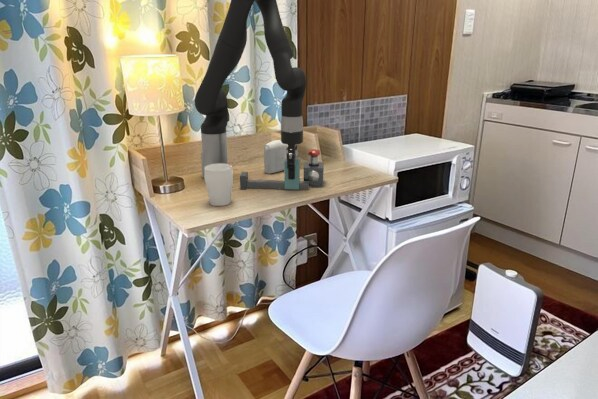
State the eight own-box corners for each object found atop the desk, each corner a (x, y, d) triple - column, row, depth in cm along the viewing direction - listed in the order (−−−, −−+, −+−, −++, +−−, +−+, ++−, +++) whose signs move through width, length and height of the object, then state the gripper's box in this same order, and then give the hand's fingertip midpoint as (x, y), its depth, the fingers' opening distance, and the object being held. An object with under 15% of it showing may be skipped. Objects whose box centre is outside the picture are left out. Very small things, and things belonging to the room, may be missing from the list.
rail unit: (240, 189, 162) (239, 170, 160) (246, 178, 175) (246, 160, 172) (322, 191, 161) (323, 172, 158) (323, 180, 173) (323, 162, 170)
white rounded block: (282, 167, 189) (281, 137, 184) (289, 169, 186) (289, 139, 181) (262, 172, 182) (261, 141, 178) (269, 174, 179) (269, 143, 175)
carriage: (284, 189, 162) (284, 161, 158) (285, 185, 166) (285, 158, 162) (298, 189, 161) (298, 162, 158) (299, 185, 165) (299, 158, 162)
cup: (209, 209, 144) (207, 172, 140) (203, 200, 152) (200, 165, 148) (237, 205, 148) (236, 169, 144) (230, 196, 156) (228, 162, 151)
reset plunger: (307, 171, 166) (307, 152, 163) (308, 168, 170) (308, 149, 167) (319, 172, 165) (320, 152, 163) (320, 168, 169) (320, 149, 167)
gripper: (283, 124, 163) (283, 171, 169) (278, 133, 150) (279, 183, 156) (304, 125, 163) (303, 171, 169) (301, 133, 149) (301, 183, 155)
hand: (292, 176), depth 162 cm, fingers closed on carriage, 4 cm apart
